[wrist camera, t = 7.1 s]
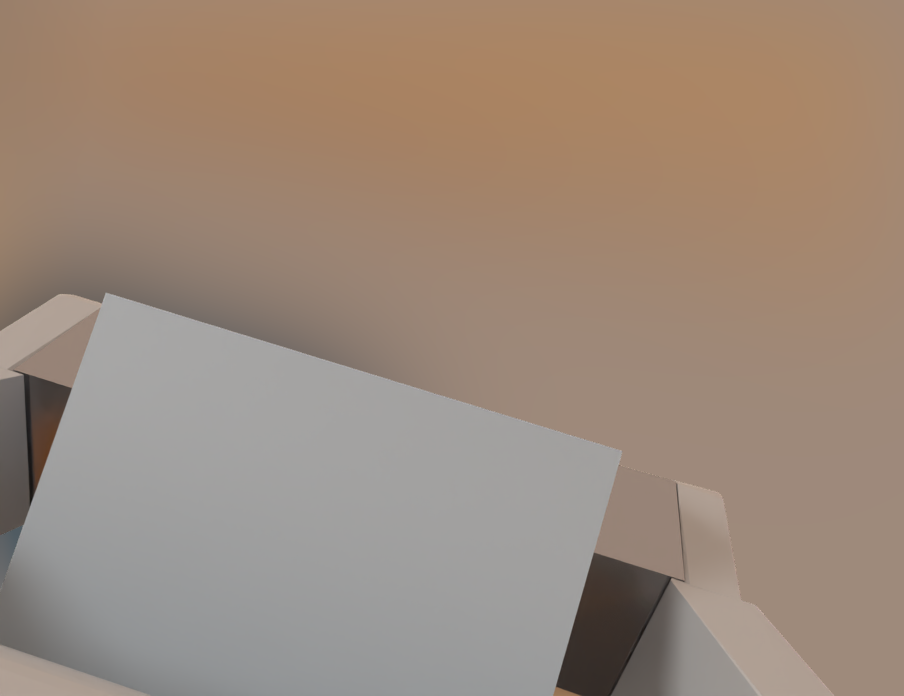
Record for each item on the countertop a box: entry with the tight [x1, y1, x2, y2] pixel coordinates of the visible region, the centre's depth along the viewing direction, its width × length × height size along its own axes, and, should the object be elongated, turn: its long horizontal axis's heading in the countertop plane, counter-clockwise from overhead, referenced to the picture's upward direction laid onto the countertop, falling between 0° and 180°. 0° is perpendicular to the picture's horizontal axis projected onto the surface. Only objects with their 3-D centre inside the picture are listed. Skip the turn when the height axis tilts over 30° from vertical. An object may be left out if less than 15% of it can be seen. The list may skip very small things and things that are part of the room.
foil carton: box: [0, 293, 622, 696], centre depth 16 cm, size 20×4×4 cm, turn 177°
